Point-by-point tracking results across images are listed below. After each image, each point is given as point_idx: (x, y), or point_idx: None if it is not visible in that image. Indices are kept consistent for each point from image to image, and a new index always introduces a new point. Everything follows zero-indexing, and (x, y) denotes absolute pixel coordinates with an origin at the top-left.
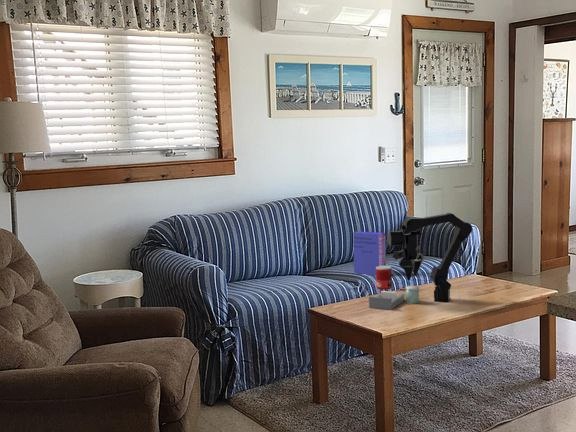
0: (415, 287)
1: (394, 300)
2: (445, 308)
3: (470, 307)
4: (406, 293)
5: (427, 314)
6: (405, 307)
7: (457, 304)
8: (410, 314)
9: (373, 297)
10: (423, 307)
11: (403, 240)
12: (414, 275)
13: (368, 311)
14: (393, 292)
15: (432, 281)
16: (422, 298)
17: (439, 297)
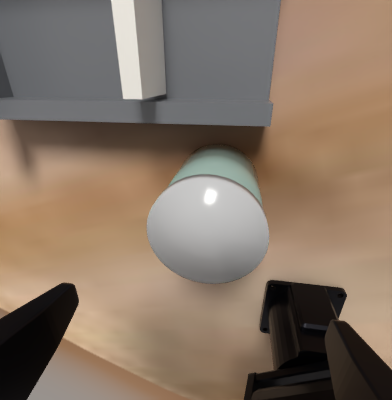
0: (202, 262)
1: (54, 115)
2: (162, 323)
3: (209, 383)
4: (174, 177)
5: (50, 279)
6: (95, 175)
7: (238, 354)
8: (9, 223)
9: None
10: (138, 252)
11: None
12: (331, 328)
13: None
14: (122, 69)
15: (317, 387)
16: (326, 218)
17: (271, 317)
